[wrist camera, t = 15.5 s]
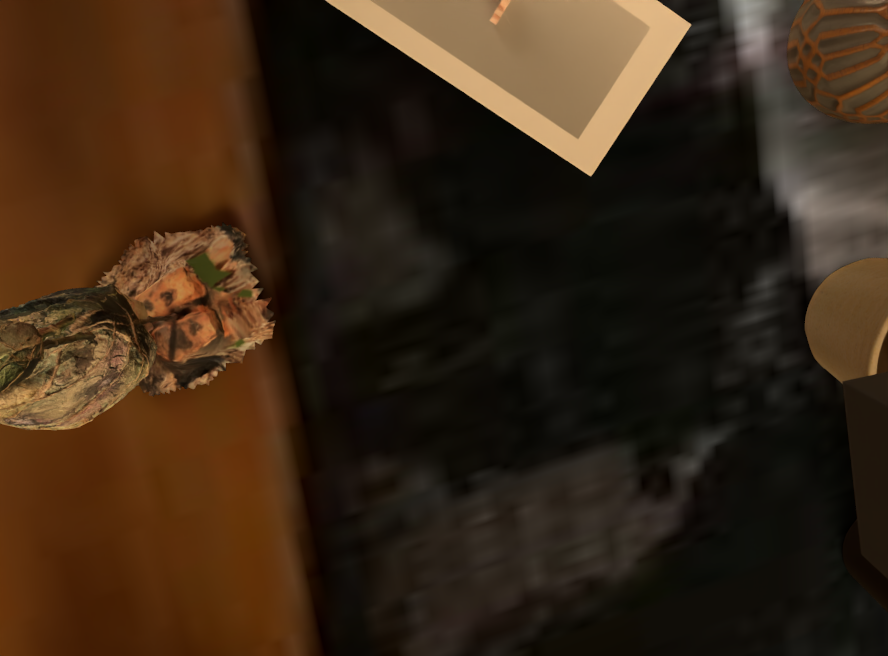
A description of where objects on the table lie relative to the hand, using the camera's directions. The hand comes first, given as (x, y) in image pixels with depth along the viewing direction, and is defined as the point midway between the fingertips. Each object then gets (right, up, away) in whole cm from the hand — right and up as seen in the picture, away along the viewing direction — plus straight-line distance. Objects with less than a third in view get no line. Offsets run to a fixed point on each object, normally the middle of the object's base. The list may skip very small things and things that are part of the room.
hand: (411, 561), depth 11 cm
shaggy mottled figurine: (-13, +4, +26) cm, 30 cm away
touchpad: (+3, +18, +23) cm, 30 cm away
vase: (+19, +16, +24) cm, 35 cm away
